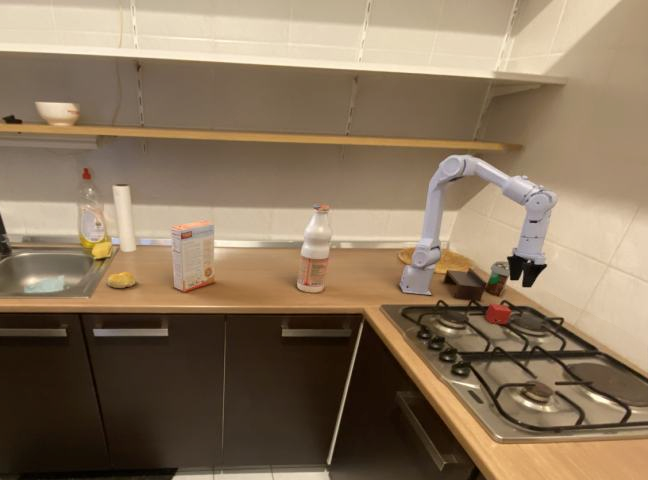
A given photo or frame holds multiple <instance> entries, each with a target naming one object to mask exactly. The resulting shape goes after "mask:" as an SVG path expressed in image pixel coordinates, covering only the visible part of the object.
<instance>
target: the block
mask: <svg viewBox="0 0 648 480" xmlns="http://www.w3.org/2000/svg"><path fill="white" fill-rule="evenodd" d="M512 313H513V311H512V310H511V309H510V308H509V307H508V306H507V305H505V304H495V303H489V305H488V308H487V310H486V313H485V314H484V318H485V319H486V320H487V321H488V322H489V323H490V324H496V325H497V324H498V325H507V324H508V321H509V319H510V317H511V314H512ZM486 314H487V315H488V316H487V315H486ZM495 319H497V320H501V321H495ZM507 320H508V321H507ZM504 321H507V322H504Z"/></svg>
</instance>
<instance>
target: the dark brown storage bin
mask: <svg viewBox="0 0 648 480" xmlns="http://www.w3.org/2000/svg"><path fill="white" fill-rule="evenodd" d="M442 283H443V284H447V285H456V286H457V289H456V291H455V295H454V298H455V299H458V300H467V301H476V302H477V301H478V302H480V301H481V300H482V297H483V295H484V292H485V291H486V288H487V285H488V282H487V281H485V279H483V277H481V276H480V275H479V274H478V273H477V272H476V271H475V270H474V269H473V268H472V267H468V269H467V271H462V270H452V269H451V270H450V269H446V272H445V275H444V278H443V281H442Z"/></svg>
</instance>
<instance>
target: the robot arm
mask: <svg viewBox="0 0 648 480" xmlns="http://www.w3.org/2000/svg"><path fill="white" fill-rule="evenodd" d="M469 176H472V177H473V176H476V177H479V178H481V179H483V180H485V181H487V182H489V183H491V184H493V185H495V186H497V187H499V188H500V189H501V194H502V196H504V197H506V198H507V199H509V200H511V201H513V202H515V203H516V204H518V205H520V206H523V207H524V209H525V211H526V213H525V217H524V220H523V223H522V228H521V232H520V235H519V240H518V243H517V247H512V249H511V253H510V254H511V255H509V256H508V255H507V256H506V260H507V262H508V263H509V268H510V275H509V281H515V282H516V281H520V278H521V277H522V282H521V287H522V288H526V289H527V288H529V289H530V288H532V287H533V285H534V284H535V282H536V280H537V278H538V277H539V276H540V275H541V274H542V272H543V271H544V270H545V269H546V268H547V267H548V264H547V263H546V259H547V257H546V256H545V255H546V252H545V251H542V250H543V247H544V242H545V240H546V236H547V233H548V229H549V224H550V221H551V216H552V212H553V211H552V209H554V208H555V207H556V205H557V203H558V195H557V193H556V192H555V191H553V189H549V188H548V189H545V186H544V185H542V184H540V185H539V184H537V183H534V182H532V181H531V180H529V176H528V175H522V176H521V175H515V176H510V175H508V174H507V173H505V172H503V171H502V170H500V169H498V168H496V167H495V166H493V165H492V164H490V163H488V162H487V161H485V160H483V159H481V158H479V157H474V156H473V155H472V154H462V155H461V154H459V155H458V154H452V155H449V156H447V157H446V158H445V159H443V160H442V161H441V162H440V163H439V164H438V168H437V170H436V171H435V172H434V174H433V175H432V177H431V179H430V181H429V184H428V190H427V196H426V202H425V203H426V204H425V210H424V217H423V224H422V231H421V237H420V240H419V241H418V242H417V244H416V246H415V249H414V252H413V253H412V255H411V263H412V264H406V265H405V266H404V268H403V271H402V275H401V279H400V281H399V287H400V289H401V291H402V293H405V294H416V295H424V296H431V295H432V293H431V291H430V289H429V288H430V287H431V283H432V279H433V277H434V274H435V269H436V264H438V263H439V261H441V259H442V256H443V252H442V248H441V246H442V242H441V240H440V234H441V228H442V221H443V214H444V209H445V204H446V203H445V202H446V198H447V197H446V196H447V191H448V188H449V187H451V186H452V185H453V184H455V182H457V181H459V180H461V179H463V178H465V177H469Z"/></svg>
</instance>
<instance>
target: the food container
mask: <svg viewBox="0 0 648 480" xmlns="http://www.w3.org/2000/svg"><path fill="white" fill-rule="evenodd" d="M490 270H491V272H490V275H489V277H488V278H489V279H488V282H487V285H486V287H485V291H486V292H487V293H488V294H490V295H492V296H496V297H500V296H501V294H502V293H503V292H504V289H505V288H506V284H507V282H508V280H509V279H510V268H509V263H508V261H506V260H505V261H504V260H503V261H499V260H498V261H495V262H494V263H492V265H491V266H490Z"/></svg>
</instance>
